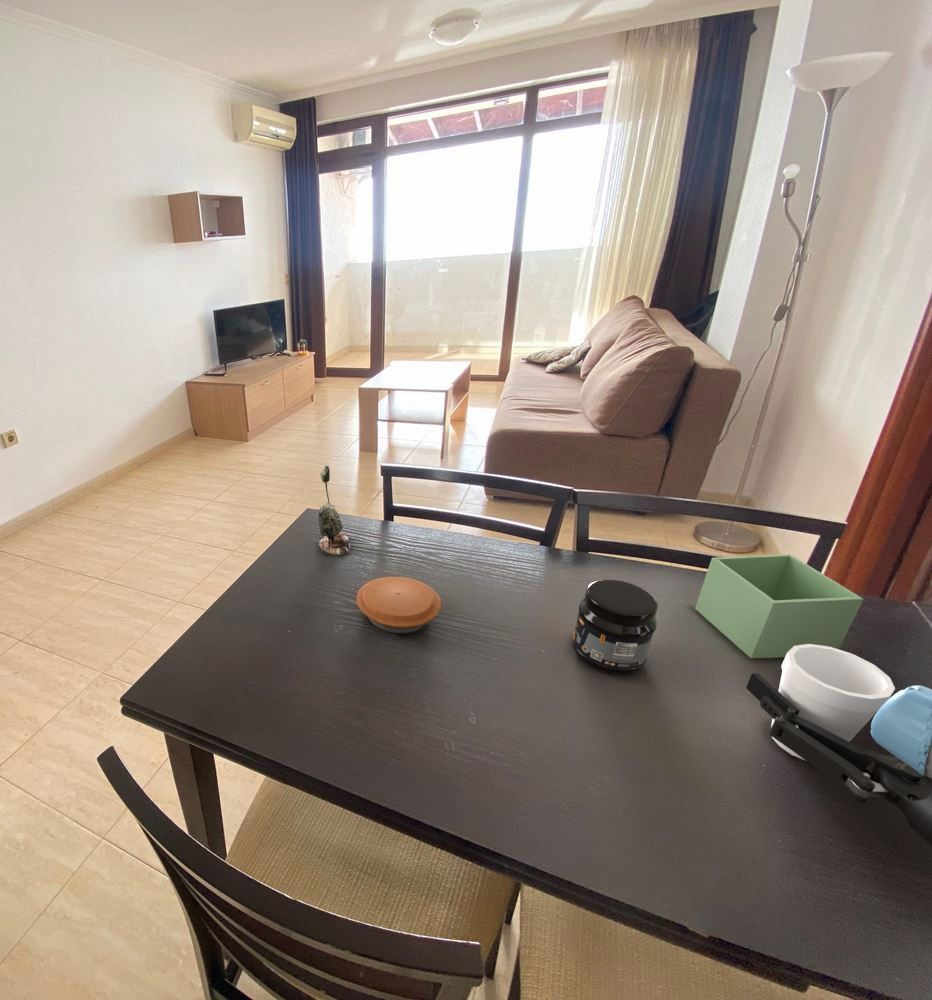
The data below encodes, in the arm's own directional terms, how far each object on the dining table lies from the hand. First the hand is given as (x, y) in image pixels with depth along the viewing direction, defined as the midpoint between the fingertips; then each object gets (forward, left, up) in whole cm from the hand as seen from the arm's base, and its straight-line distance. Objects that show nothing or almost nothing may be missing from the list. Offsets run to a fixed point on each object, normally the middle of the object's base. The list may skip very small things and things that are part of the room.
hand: (794, 678), depth 73 cm
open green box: (-12, -18, -8) cm, 23 cm away
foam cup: (0, +4, -8) cm, 9 cm away
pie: (+48, -27, -8) cm, 56 cm away
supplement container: (+16, -14, -8) cm, 23 cm away
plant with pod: (+58, -53, -8) cm, 79 cm away
